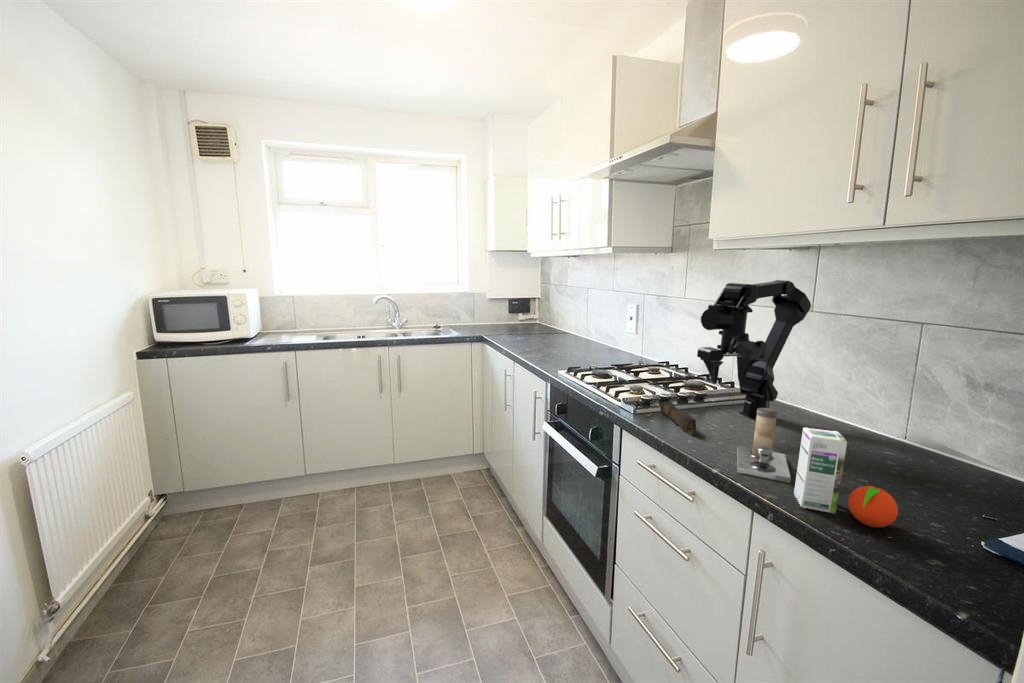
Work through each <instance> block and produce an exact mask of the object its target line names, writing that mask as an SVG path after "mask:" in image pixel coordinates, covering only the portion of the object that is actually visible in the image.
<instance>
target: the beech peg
mask: <svg viewBox="0 0 1024 683" xmlns="http://www.w3.org/2000/svg"><path fill="white" fill-rule="evenodd" d="M777 417H778V411H777V410H775V409H772V408H769V409H768V408H758V409H757V417H756V420H755V425H754V434H753V435H754V436H753V442H752V448H753V449H752V455H753V456H755V457H757V458H760V454H759V453H758V447H767V448H770V449H772V450H773V447H774V440H775V432H776V425H777ZM769 459H771V456H769Z"/></svg>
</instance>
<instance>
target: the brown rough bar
mask: <svg viewBox="0 0 1024 683" xmlns="http://www.w3.org/2000/svg"><path fill="white" fill-rule="evenodd" d="M659 407H660V412H661V413H662V412H663V413H662V414H663V415H666V416H668V417H667V418H670V420H672V421H673V422H674V423H676V424H677V426H679V428H680V430H681V429H682V430H683V431H682V430H681V431H682V432H684V433H685V432H686V433H685V434H687V433H688V434H687V435H689V434H690V435H689V436H691V437H694V436H695V434H696V430H697V422H696V421H697V420H696V419H695V418H693V416H692V415H689V414H685V413H683V412H682V411H681V410H679V409H678V408H677V407H676V406H675V405H674V403H673V402H671V401H663V402H662V403H661V404H660V406H659Z"/></svg>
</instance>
